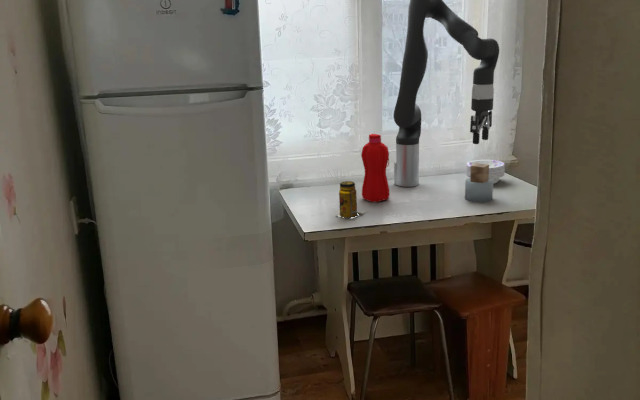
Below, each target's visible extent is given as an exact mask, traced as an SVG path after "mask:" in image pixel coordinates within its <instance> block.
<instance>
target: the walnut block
mask: <svg viewBox="0 0 640 400" xmlns="http://www.w3.org/2000/svg"><path fill="white" fill-rule="evenodd" d="M469 178H470V177H469ZM488 180H489V164H480V163H475V164H474V165H472V166H471V178H470V182H477V183H485V182H486V181H488Z"/></svg>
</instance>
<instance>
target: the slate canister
mask: <svg viewBox="0 0 640 400" xmlns="http://www.w3.org/2000/svg"><path fill="white" fill-rule="evenodd" d="M493 196H494V184H493V180H491V179H489V180H488V181H486V182H485V183H477V182H470V177H468V178H467V179H465V183H464V200H465V201H468V202H470V203H471V202H472V203H476V204H478V203H479V204H480V203H481V204H482V203H489V202H491V201H493Z"/></svg>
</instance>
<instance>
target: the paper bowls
mask: <svg viewBox="0 0 640 400" xmlns="http://www.w3.org/2000/svg"><path fill="white" fill-rule="evenodd" d="M475 163H480V164H489V179H491V180H493V185H494V184H497V183H498V182H499V181H500V178H502V177H504V176H505V173H506V172H505V170H506V169H505V167H506V164H505V162H502V161H501V160H496V159H479V160H478V159H477V160H476V159H475V160H471V161H468V162H466V164H465V167H466V169H465V171H466V172H465V174H466V176H467V177H468V178H471V166H472V165H474V164H475Z"/></svg>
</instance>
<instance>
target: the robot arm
mask: <svg viewBox="0 0 640 400" xmlns="http://www.w3.org/2000/svg"><path fill="white" fill-rule="evenodd" d="M407 11H408V13H407V14H408V15H407V30H406V39H405V45H404V53H403V58H402V64H401V74H400V80H399V88H398V89H399V90H398V95H397V97H396V98H397V99H396V102H395V106H394V110H393V121H394V123H395V124H396V126H397V127H398V132H397V134H396V136H395V137H396V138H395V161H394V162H393V177H394V178H393V184H394V185H397V186H399V187H404V188H405V187H406V188H409V187H417V186H419V184H420V138H421V134H422V132H421V131H422V110H421V108H420V106H419V105H418V104H417V103H416V102H417V96H418V91H419V89H420V87H421V84H422V82H423V79H424V77H425V75H426V74H425V73H426V70H427V65H428V57H429V53H428V51H429V50H428V46H427V43H426V40H425V33H424V32H425V31H424V29H425V27H424V26H425V21H426V18H427V19H428V18H430V19H433V20H435V21H437V22H438V23H440V24H441V25H442V26H443V27H444V29H445V30H446V32H447V33H448V35H449V36H450V37H451V38H452V39H453V40H454V41H455V42H457V43H458V44H460V45H462V46H463V48H464V50H465V51H466V52H467V54H468V55H469V56H470V57H471V58H472V59H474V60H477V61H480V63H479V65H478V66H476V67H475V68H474V70H473V74H472V87H471V103H470V104H471V106H470V107H471V108H470V109H471V111H473V112H475V113H474V115H470V116H471V117H470V126H469V127H470V128H469V132H470V133H471V134H472V144H474V145H479V144H480V137H481V139H482V140H483V141H487V140H489V133H490V131H489V130H490V129H491V127H492V124H493V121H492V120H493V110H494V96H495V95H494V94H495V93H494V92H495V89H494V79H495V69H496V67H497V64H498V60H499V57H500V56H499V55H500V46H499V42H498V41H497V40H496V39H494V38H481V37H479V32H478V30H477V29H476V28H474V27H473V26H472V25H471V24H469V23H468V22H466V21H465V20H464V19H462V18H461V17H460V16H459V15H458V14H456V13H455V12H454V11H453V10H452V9H451V7H449V6H448V5H447V4H446V3H445V2H444V0H409V3H408V10H407ZM480 133H481V134H480ZM480 135H481V136H480Z"/></svg>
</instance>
